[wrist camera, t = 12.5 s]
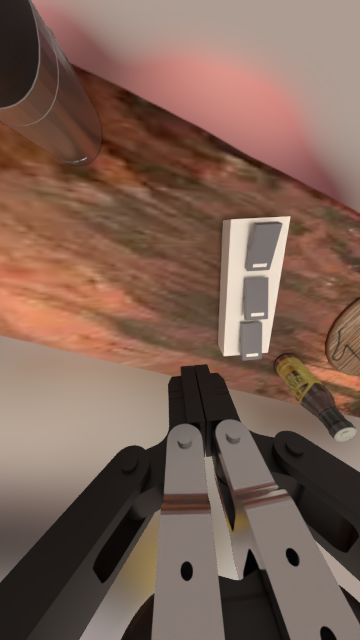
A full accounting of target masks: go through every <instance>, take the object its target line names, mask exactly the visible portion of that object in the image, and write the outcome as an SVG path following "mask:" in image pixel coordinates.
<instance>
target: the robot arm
mask: <svg viewBox="0 0 360 640" xmlns="http://www.w3.org/2000/svg"><path fill="white" fill-rule="evenodd" d="M0 121H1V122H2V123H4V124H5V125H7V126H8V127H10V128H11V129H13V130H14V131H16V132H18V133H19V134H21V135H22V136H24V137H25V138H27V139H28V140H30V141H31V142H33V143H34V144H36V145H38V146H39V147H41V148H42V149H44V150H45V151H47V152H48V153H50V154H51V155H53V156H54V157H56V158H57V159H59V160H61V161H62V162H64V163H66V164H69V165H72V166H82V165H86V164H88V163H90V162H91V161H92V160H93V159H95V157H96V156H97V154H98V152H99V150H100V147H101V142H102V129H101V123H100V120H99V117H98V115H97V113H96V111H95V109H94V107H93V105H92V103H91V102H90V100H89V98H88V97H87V95H86V93H85V89H84V87H83V85H82V83H81V81H80V80H79V78H78V76H77V74H76V73H75V71H74V69H73V67H72V66H71V64H70V62H69V60H68V59H67V57H66V55H65V53H64V52H63V50H62V48H61V46H60V45H59V43H58V41H57V39H56V38H55V36H54V34H53V32H52V31H51V30H50V28H48V27H47V26H46V25H45V23H44V22H43V20H42V18H41V16H40V15H39V13H38V11H37V10H36V8H35V6H34V4H33V3H32V1H31V0H0ZM180 369H181V376H175V377H171V379H170V381H169V384H168V394H169V431H168V434H167V436H166V437H165V438H164V440H163V441H162V442H160V443H159V444H157V445H155V446H153V447H151V448H149V449H147V450H145V449H144V448H142V447H140V446H135V445H134V446H128V447H126V448H124V449H122V450H121V451H120V452H119V453H117V454H116V456H115V457H114V458H113V459H112V460H111V461H110V462H109V463H108V464H107V466H106V467H105V468H104V469H103V470H102V471H101V472H100V473H99V474H98V476H97V477H96V478H95V479H94V480H93V481H92V482H91V483H90V484H89V486H88V487H87V488H86V489H85V490H84V491H83V492H82V493H81V494H80V495H79V497H78V498H77V499H76V500H75V501H74V502H73V503H72V504H71V505H70V506H69V507H68V509H67V510H66V511H65V512H64V513H63V514H62V515H61V516H60V517H59V518H58V520H57V521H56V522H55V523H54V524H53V525H52V526H51V527H50V528H49V530H48V531H47V532H46V533H45V534H44V535H43V536H42V537H41V538H40V539H39V541H38V542H37V543H36V544H35V545H34V546H33V547H32V548H31V549H30V550H29V552H28V553H27V554H26V555H25V556H24V557H23V558H22V559H21V560H20V562H19V563H18V564H17V565H16V566H15V567H14V568H13V569H12V570H11V571H10V573H9V574H8V575H7V576H6V577H5V578H4V579H3V580H2V581H1V583H0V640H79V639H80V637H81V636H82V634H83V632H84V631H85V629H86V627H87V625H88V624H89V622H90V620H91V618H92V617H93V615H94V614H95V612H96V610H97V609H98V607H99V605H100V603H101V602H102V600H103V599H104V597H105V595H106V594H107V592H108V590H109V588H110V587H111V585H112V584H113V582H114V580H115V579H116V577H117V575H118V573H119V572H120V570H121V569H122V567H123V565H124V563H125V562H126V560H127V558H128V557H129V555H130V553H131V552H132V550H133V548H134V547H135V545H136V543H137V542H138V540H139V538H140V537H141V535H142V533H143V532H144V530H145V528H146V527H147V525H148V523H149V522H150V520H151V518H152V516H153V515H154V513H155V512H156V511H158V510H160V509H161V512H160V526H159V540H158V554H157V567H156V582H155V593H154V594H153V595H151V596H150V597H149V598H148V599H147V600H146V602H145V603H144V604H143V605H142V606H141V607H140V609H139V610H138V611H137V613H136V614H135V616H134V617H133V619H132V620H131V622H130V624H129V625H128V627H127V629H126V630H125V633H124V635H123V636H122V639H121V640H360V603H359V602H358V601H357V600H356V599H355V598H354V597H353V596H352V595H351V594H349V593H348V592H347V591H346V590H345V589H344V588H342V587H341V586H340V585H338V583H337V581H336V579H335V578H334V576H333V574H332V572H331V570H330V568H329V566H328V565H327V563H326V561H325V559H324V557H323V555H322V553H321V551H320V550H319V548H318V546H317V544H316V542H315V541H317V542H318V543H319V544H320V545H321V546H322V547H323V548H324V549H325V550H326V551H327V552H329V553H330V554H331V555H332V556H333V557H334V558H335V559H336V560H337V561H339V563H341V564H342V565H343V566H344V567H345V568H346V569H347V570H348V571H349V572H350V573H351V574H352V575H354V576H355V577H356V578H357V579H358V580H359V581H360V472H358V471H357V470H355V469H354V468H352V467H350V466H349V465H347V464H346V463H344V462H343V461H341V460H339V459H338V458H336V457H335V456H333V455H331V454H330V453H328V452H326V451H325V450H323V449H322V448H320V447H319V446H317V445H315V444H314V443H312V442H311V441H309V440H307V439H306V438H304V437H303V436H301V435H299V434H297V433H295V432H292V431H281V432H279V433H277V435H276V436H275V438H273V437H268V436H264V435H259V434H256V433H254V432H252V431H250V430H248V428H247V427H246V426H244V424H242V422H241V421H240V419H239V416H238V414H237V411H236V409H235V406H234V404H233V401H232V399H231V396H230V394H229V391H228V388H227V386H226V383H225V381H224V379H223V378H222V377H221V376H220V375H219V374H218V373H210V372H209V368H208V365H207V364H205V365H194V366H182V367H180ZM205 452H206V456H207V457H209V456H212V459H213V464H214V477H215V481H216V485H217V488H218V492H219V496H220V499H221V503H222V507H223V511H224V515H225V518H226V522H227V526H228V529H229V533H230V539H231V546H232V552H233V557H234V562H235V566H236V570H237V574H238V578H239V580H232V579H229V578H225V577H222V576H218V570H217V561H216V552H215V542H214V533H213V524H212V515H211V507H210V501H209V498H208V490H207V480H206V471H205V460H204V457H205Z"/></svg>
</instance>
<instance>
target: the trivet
mask: <svg viewBox="0 0 360 640" xmlns="http://www.w3.org/2000/svg"><path fill="white" fill-rule="evenodd" d="M325 354H326V356H327V358H328V361H329V362H330V363H331V364H332V365H333V366H334V367H335V368H336V369H337V370H339V371H340V372H343V373H345V374H347V375H354V376H360V297H359V298H357V299H356V300H355V301H353V302H352V303H351V304H350V305H349V306H347V307H346V308H345V309H344V310H343V311H342V312H341V314H340V315H339V316H338V317H337V318H336V319H335V321H334V323H333V324H332V326H331V328H330V330H329V331H328V335H327V338H326V342H325Z"/></svg>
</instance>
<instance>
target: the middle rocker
mask: <svg viewBox="0 0 360 640" xmlns="http://www.w3.org/2000/svg"><path fill="white" fill-rule="evenodd" d="M268 280H269V277H266V278H251V279H244V297H243V302H244V320H247V321H248V320H262V319H268Z"/></svg>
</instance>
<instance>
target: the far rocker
mask: <svg viewBox="0 0 360 640" xmlns="http://www.w3.org/2000/svg"><path fill="white" fill-rule="evenodd" d="M239 341H240V358H241V359H242V360H253V359H262V322H260V321H256V322H243V323H240V339H239Z"/></svg>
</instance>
